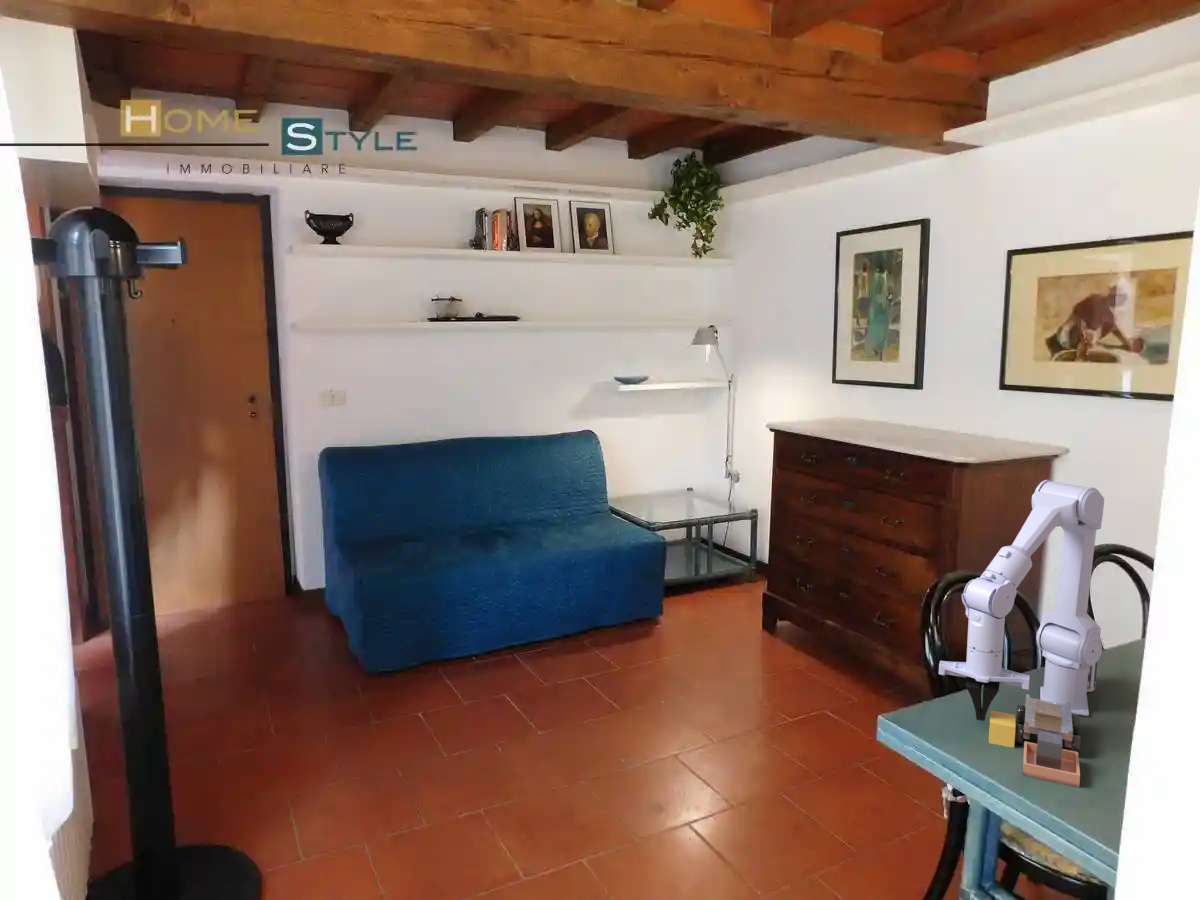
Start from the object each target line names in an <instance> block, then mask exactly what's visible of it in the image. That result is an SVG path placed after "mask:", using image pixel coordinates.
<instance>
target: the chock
mask: <svg viewBox="0 0 1200 900" xmlns="http://www.w3.org/2000/svg"><path fill="white" fill-rule="evenodd" d="M989 712H990V713H989V729H988V744H991V745H992V744H993V745H996V744H997V745H996V746H1001V745H1002V747H1007V748H1012V747H1013V749H1014V748H1015V743H1016V742H1015V735H1016V714H1014V713H1008V712H1001V711H998V710H996V711H995V710H990V711H989Z"/></svg>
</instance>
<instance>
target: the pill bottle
mask: <svg viewBox="0 0 1200 900" xmlns="http://www.w3.org/2000/svg"><path fill="white" fill-rule="evenodd" d="M1097 673H1098V661H1097V662H1096V663H1095V664H1094V665H1092V666H1090V667H1089V671H1088V683H1087V693H1089V692H1094V691H1095V690H1096V687H1097V685H1096V684H1097Z"/></svg>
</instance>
